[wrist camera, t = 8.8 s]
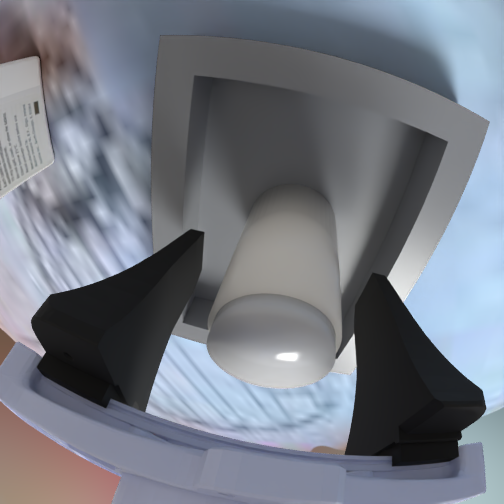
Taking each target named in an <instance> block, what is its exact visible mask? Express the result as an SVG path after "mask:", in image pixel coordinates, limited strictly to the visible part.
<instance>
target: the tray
mask: <svg viewBox="0 0 504 504" xmlns="http://www.w3.org/2000/svg"><path fill="white" fill-rule="evenodd" d="M489 123H490V122H489V121H487V120H486V119H484V118H482V117H481V116H479V115H477V114H476V113H474V112H472V111H470V110H468V109H466V108H465V107H463V106H461V105H459V104H457V103H455V102H453V101H451V100H449V99H447V98H445V97H443V96H441V95H439V94H437V93H435V92H433V91H430V90H428V89H426V88H424V87H421V86H419V85H417V84H414V83H412V82H409V81H407V80H405V79H402V78H399V77H397V76H394V75H392V74H389V73H386V72H383V71H381V70H378V69H375V68H372V67H369V66H366V65H363V64H359V63H356V62H353V61H349V60H346V59H342V58H339V57H335V56H331V55H327V54H323V53H319V52H315V51H311V50H306V49H302V48H297V47H292V46H286V45H281V44H275V43H269V42H262V41H255V40H247V39H238V38H227V37H214V36H194V35H160V40H159V48H158V57H157V67H156V77H155V89H154V103H153V121H152V149H151V206H152V235H153V253H154V254H155V253H156V252H158V251H159V250H161V249H162V248H164V247H165V246H167V245H168V244H170V243H171V242H172V241H174V240H175V239H177V238H178V237H180V236H181V235H182V234H184V233H185V232H187V231H188V230H190V229H194V230H198V231H202V232H205V234H204V247H203V262H202V271H201V273H200V276H199V279H198V282H197V284H196V287H195V289H194V291H193V293H192V295H191V297H190V299H189V301H188V302H187V304H186V306H185V308H184V310H183V312H182V314H181V316H180V318H179V319H178V321H177V323H176V325H175V327H174V329H173V331H172V333H171V334H172V335H176V336H179V337H182V338H186V339H189V340H193V341H196V342H199V343H203V344H207V337H208V334H209V330H208V317H209V314H210V311H211V309H212V306H213V304H214V301H215V298H216V296H217V293H218V291H219V288H220V286H221V283H222V281H223V278H224V276H225V273H226V271H227V268H228V266H229V263H230V261H231V258H232V256H233V253H234V251H235V248H236V246H237V244H238V241H239V239H240V236H241V234H242V231H243V229H244V226H245V224H246V221H247V219H248V217H249V214H250V212H251V209H252V207H253V205H254V203H255V201H256V200H257V199H258V198H259V197H260V195H262V194H263V193H264V192H266V191H267V190H269V189H271V188H273V187H276V186H279V185H284V184H298V185H303V186H306V187H309V188H311V189H313V190H315V191H317V192H318V193H320V194H321V195H322V196H323V197H324V198H325V199H326V200H327V201H328V202H329V204H330V205H331V207H332V209H333V211H334V214H335V219H336V229H337V241H338V254H339V268H340V286H341V311H342V341H341V345H340V348H339V349H338V351H337V353H336V357H335V364H334V366H333V368H332V370H331V371H330V372H334V373H340V374H347V375H351V374H352V372H353V371H354V370H355V369H356V367H357V366H356V350H355V336H354V313H355V304H356V303H357V301H358V299H359V297H360V295H361V293H362V292H363V290H364V288H365V286H366V284H367V282H368V280H369V278H370V276H371V274H372V272H373V273H377V274H381V275H385V276H386V277H387V279H388V280H389V282H390V283H391V285H392V286H393V288H394V289H395V291H396V292H397V294H398V295H399V297H400V298H401V300H402V301H403V302H404V301H405V299H406V298H407V296H408V294H409V293H410V291H411V290H412V288H413V286H414V285H415V283H416V282H417V280H418V278H419V277H420V275H421V273H422V272H423V270H424V268H425V266H426V265H427V263H428V261H429V259H430V258H431V256H432V254H433V252H434V250H435V249H436V247H437V245H438V243H439V241H440V239H441V237H442V235H443V234H444V232H445V230H446V228H447V226H448V224H449V222H450V220H451V218H452V216H453V213H454V211H455V209H456V207H457V205H458V203H459V201H460V198H461V196H462V194H463V192H464V189H465V187H466V185H467V182H468V180H469V178H470V175H471V173H472V170H473V168H474V165H475V163H476V160H477V157H478V155H479V152H480V149H481V146H482V144H483V141H484V138H485V135H486V132H487V129H488V126H489Z"/></svg>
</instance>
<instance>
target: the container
mask: <svg viewBox="0 0 504 504" xmlns="http://www.w3.org/2000/svg"><path fill="white" fill-rule="evenodd" d="M53 162H54V153H53V149H52V144H51V139H50V134H49V129H48V123H47V117H46V111H45V104H44V96H43V88H42V79H41V68H40V59H39V57H38V56H33V57H28V58H24V59H19V60H15V61H11V62H7V63H3V64H0V199H1V198H2V197H4V196H5V195H6V194H8V193H9V192H11V191H12V190H13V189H15V188H16V187H18V186H19V185H21V184H22V183H23V182H25V181H26V180H28V179H29V178H31V177H32V176H34V175H36V174H37V173H39V172H40V171H42V170H43V169H45V168H47V167H48V166H50V165H51V164H53Z"/></svg>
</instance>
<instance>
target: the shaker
mask: <svg viewBox="0 0 504 504" xmlns="http://www.w3.org/2000/svg"><path fill="white" fill-rule="evenodd" d="M208 330H209V334H208V337H207V350H208V352H209V355H210V357H211V358H212V360H213V361H214V362H215V363H216V364H217V365H218V366H219V367H220V368H221V369H222V370H224V371H225V372H226V373H228V374H230V375H231V376H233V377H235V378H237V379H239V380H241V381H244V382H247V383H249V384H253V385H256V386H261V387H267V388H276V389H289V388H298V387H303V386H307V385H310V384H313V383H315V382H317V381H319V380H321V379H322V378H324V377H325V376H326V375H328V373H329V372H330V371H331V370H332V368H333V366H334V364H335V357H336V353H337V351H338V349H339V348H340V345H341V341H342V311H341V286H340V268H339V254H338V241H337V229H336V219H335V214H334V211H333V209H332V207H331V205H330V204H329V202H328V201H327V200H326V199H325V198H324V197H323V196H322V195H321V194H320V193H318V192H317V191H315V190H313V189H311V188H309V187H306V186H303V185H298V184H284V185H279V186H276V187H273V188H271V189H269V190H267V191H266V192H264V193H263V194H262V195H260V197H259V198H258V199H257V200H256V201H255V203H254V205H253V207H252V209H251V212H250V214H249V217H248V219H247V221H246V224H245V226H244V229H243V231H242V234H241V236H240V239H239V241H238V244H237V246H236V248H235V251H234V253H233V256H232V258H231V261H230V263H229V266H228V268H227V271H226V273H225V276H224V278H223V281H222V283H221V286H220V288H219V291H218V293H217V296H216V298H215V301H214V304H213V306H212V309H211V311H210V314H209V317H208Z"/></svg>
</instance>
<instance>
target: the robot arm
mask: <svg viewBox="0 0 504 504" xmlns="http://www.w3.org/2000/svg"><path fill="white" fill-rule="evenodd" d="M204 234H205V232H202V231H198V230H194V229H190V230H188V231H187V232H185V233H184V234H182V235H181V236H180V237H178V238H177V239H175V240H174V241H172V242H171V243H170V244H168V245H167V246H165V247H164V248H162V249H161V250H159V251H158V252H156V253H155V254H153V255H152V256H150V257H148V258H147V259H145V260H143V261H142V262H140V263H138V264H136V265H135V266H133V267H131V268H129V269H127V270H125V271H123V272H121V273H118V274H116V275H114V276H111V277H109V278H106V279H104V280H101V281H99V282H96V283H93V284H90V285H87V286H84V287H81V288H77V289H73V290H69V291H65V292H60V293H56V294H51V295H50V296H49V297H48V298H47V299H46V301H45V302H44V303H43V304H42V306H41V307H40V308H39V310H38V311H37V312H36V313H35V315H34V316H33V317H32V320H31V324H32V329H33V331H34V333H35V335H36V336H37V338H38V340H39V341H40V343H41V345H42V346H43V348H44V350H45V351H46V353H45V355H44V356H43V358H42V357H41V356H40V355H39V354H37V353H36V352H35V351H33V350H31V349H30V348H28V347H26V346H25V345H23V344H22V343H20V342H16V344H15V345H14V347H13V348H12V350H11V351H10V353H9V354H8V355H7V357H6V359H5V360H4V362H3V363H2V365H1V366H0V401H1V402H2V403H3V404H4V405H6V406H7V407H8V408H9V409H10V410H11V411H12V412H13V413H15V414H16V415H17V416H19V417H20V418H21V419H22V420H24V421H25V422H26V423H28V424H29V425H31V426H32V427H34V428H35V429H36V430H38V431H40V432H41V433H43V434H44V435H45V436H47V437H49V438H50V439H52V440H54V441H55V442H56V443H58V444H60V445H61V446H63V447H65V448H66V449H68V450H70V451H71V452H73V453H75V454H77V455H78V456H80V457H82V458H84V459H86V460H88V461H90V462H91V463H93V464H95V465H98V466H99V467H101V468H103V469H105V470H107V471H110V472H112V473H114V474H116V475H118V476H120V477H121V479H120V481H119V484H118V487H117V490H116V492H115V495H114V498H113V500H112V503H111V504H456V503H459V502H462V501H465V500H467V499H470V498H473V497H476V496H478V495H481V494H483V493H485V492H486V480H485V465H484V455H483V446H482V443H481V442H478V443H471V444H465V445H461V446H459V447H458V440H460V439H461V438H462V434H461V431H462V430H463V429H465V428H466V427H468V426H469V425H471V424H472V423H474V422H475V421H477V420H478V419H479V418H480V417H481V416H482V415H483V414H484V412H485V410H486V405H485V400H484V395H483V391H482V390H481V389H480V388H479V387H478V386H476V385H475V384H474V383H472V382H471V381H470V380H469V379H467V378H466V377H465V376H464V375H463V374H462V373H461V372H459V371H458V370H457V369H456V368H455V367H454V366H453V365H452V364H451V363H450V362H449V361H448V360H447V359H446V358H445V357H444V356H443V355H442V354H441V353H440V351H439V350H438V349H437V348H436V347H435V346H434V344H433V343H432V342H431V341H430V340H429V338H428V337H427V336H426V335H425V333H424V332H423V331H422V329H421V328H420V326H419V325H418V324H417V322H416V321H415V319H414V318H413V317H412V315H411V314H410V312H409V311H408V309H407V308H406V306H405V305H404V303H403V301H402V300H401V298H400V297H399V295H398V294H397V292H396V291H395V289H394V288H393V286H392V285H391V283H390V282H389V280H388V279H387V277H386V276H385V275H381V274H377V273H373V272H372V274H371V276H370V278H369V280H368V282H367V284H366V286H365V288H364V290H363V292H362V293H361V295H360V297H359V299H358V301H357V303H356V304H355V313H354V336H355V350H356V366H357V381H356V394H355V403H354V411H353V417H352V423H351V429H350V434H349V439H348V443H347V447H346V451H345V455H335V454H324V453H313V452H305V451H297V450H290V449H283V448H277V447H271V446H265V445H260V444H255V443H250V442H245V441H240V440H236V439H232V438H227V437H223V436H219V435H215V434H211V433H208V432H204V431H200V430H197V429H194V428H190V427H187V426H184V425H180V424H177V423H174V422H171V421H168V420H165V419H162V418H159V417H156V416H154V415H151V414H148V413H145V411H146V407H147V404H148V400H149V396H150V393H151V390H152V386H153V383H154V380H155V377H156V374H157V371H158V368H159V365H160V362H161V359H162V356H163V354H164V351H165V348H166V346H167V343H168V340H169V338H170V336H171V333H172V331H173V329H174V327H175V325H176V323H177V321H178V319H179V318H180V316H181V314H182V312H183V310H184V308H185V306H186V304H187V302H188V301H189V299H190V297H191V295H192V293H193V291H194V289H195V287H196V284H197V282H198V279H199V276H200V273H201V271H202V262H203V247H204Z"/></svg>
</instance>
